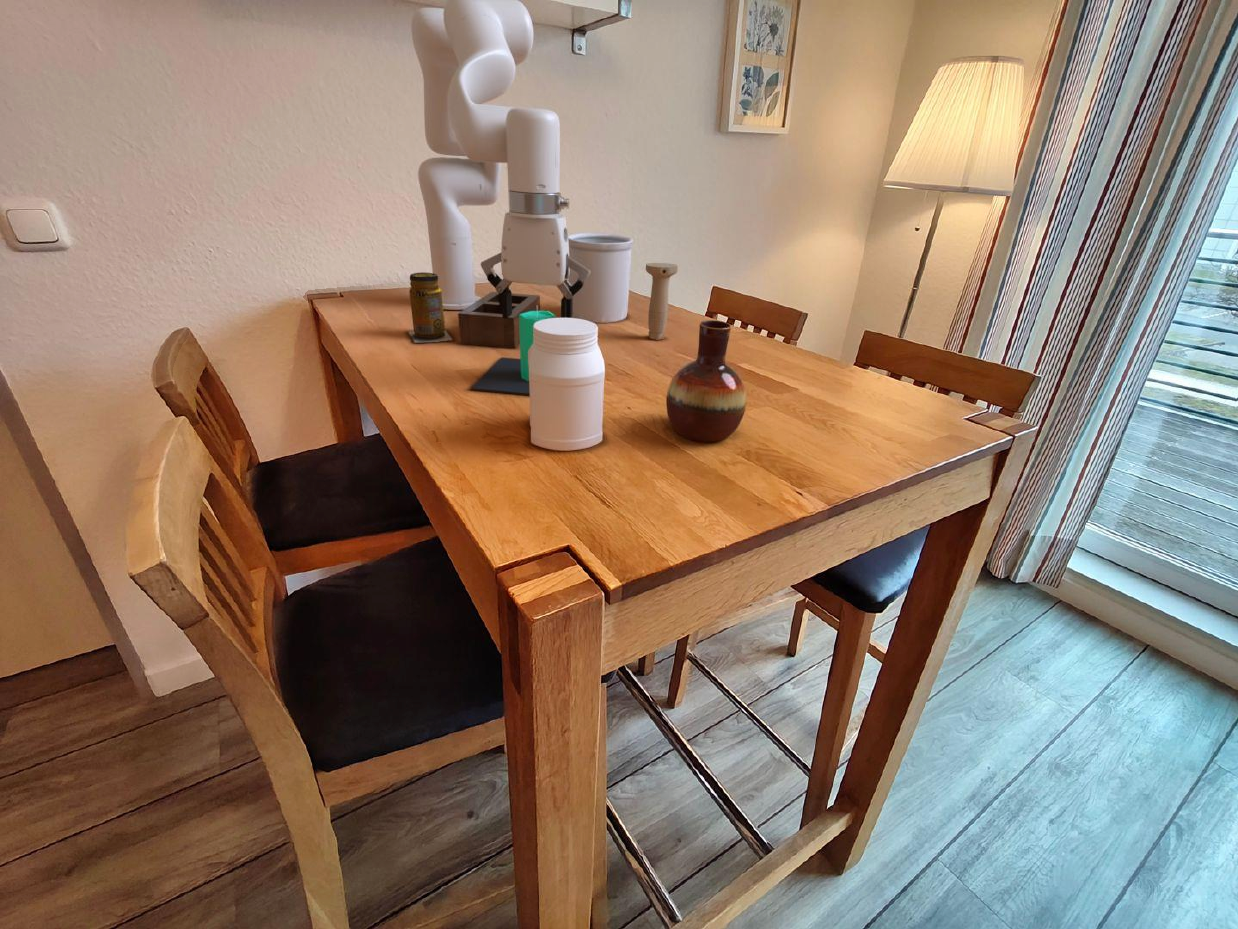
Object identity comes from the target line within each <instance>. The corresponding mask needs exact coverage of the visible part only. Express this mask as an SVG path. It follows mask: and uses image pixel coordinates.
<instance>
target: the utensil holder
mask: <svg viewBox="0 0 1238 929" xmlns="http://www.w3.org/2000/svg"><path fill="white" fill-rule="evenodd" d="M568 242H569V257H571V258H572V259H574V260H576V261H577V262H579V263H580V264H582V265H583V266H585V267H587V268H588V269H589V270H590V275H589V277H588V278H587V280H586V282H585V284H584V286H583V287H582V288H581V289H580V290H579V291H578V292H577V293H576V294H575V295H574V296H573V314H572V317H571V318H576V319H583V320H587V321H590V322H593V323H595V324H598V323H599V324H605V323H606V324H607V323H608V324H609V323H617V322H620V321H623V320H625V319H626V318H627V316H628V308H629V297H630V296H629V294H630V279H631V266H632V265H631V263H632V262H631V261H632V250H633V246H634V239H633V237H630V236H627V235H622V234H616V233H615V234H614V233H603V232H580V233H573V234H568ZM578 277H579V275H578V273H576V272H575V271H573V270H572V269H570V273H569V277H568V281H569V283H570V284H571V285H574V284H575V283H576V281H577V279H578Z"/></svg>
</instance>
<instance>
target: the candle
mask: <svg viewBox="0 0 1238 929" xmlns="http://www.w3.org/2000/svg"><path fill="white" fill-rule="evenodd" d="M549 318H557V316H556V315H555V314H554V313H553V312H551V311H549V310H540V311H538V305H537V311H529V312H526V313H522V314H519V331H520V344H519V355H520V356H519V357H520V358H519V359H521V377H522V379H524V380H526V381H529V365H528V350H529V349H530V347H531V346H532V344H533V342H534V341H533V338H534V337H533V334H534V332H533V325H534V324H535V323H536V322H538V321H540V320H544V319H549Z"/></svg>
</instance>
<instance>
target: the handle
mask: <svg viewBox="0 0 1238 929" xmlns="http://www.w3.org/2000/svg"><path fill="white" fill-rule="evenodd" d="M678 270H679V265H678V264H676V263H669V262H668V263H667V262H649V263H646V264H645V272H646V273H648V274H649V275H651V277H652V278H651V279H652V282H651V292H650V298H649V306H648V318H647V319H648V321H647V323H648V338H649V339H650V340H655V341H660V340H663V339H664V338H665V331H666V328H667V324H668V316H669V315H668V314H669V288H670V286H669V285H670V279H671V277H673V276H674V275H676V274H677V273H678Z"/></svg>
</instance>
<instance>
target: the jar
mask: <svg viewBox="0 0 1238 929" xmlns="http://www.w3.org/2000/svg"><path fill="white" fill-rule="evenodd" d="M533 332H534V334H533V337H534V338H533V341H534V342H533V344H532V346H531V347H530V349H529V350H528V365H529V390H530V396H529V426H530V443H531V444H532V445H534V446H537V447H539V448H543V449H547V450H552V451H561V452H563V451H565V452H567V451H568V452H569V451H571V452H572V451H580V450H585V449H589V448H592V447H595V446H598V445H599V444H601V442H602V441H603V437H604V436H603V435H604V432H603V419H604V394H605V393H604V392H605V389H604V388H605V377H606V367H605V360H604V357H603V354H602V352H601V348H600V346H599V342H598V341H599V338H598V336H599V327H598V325H597V323H595V322H590V321H587V320H583V319H576V318H573V317H571V318H561V317H556V318H549V319H544V320H540V321H538V322H536V323H535V324H534V325H533Z"/></svg>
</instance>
